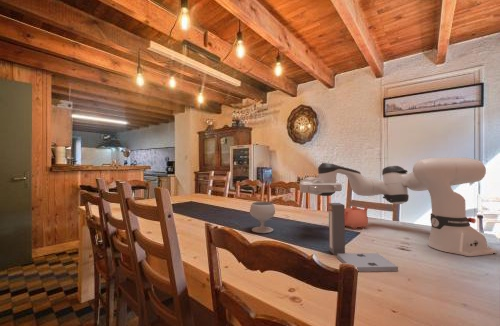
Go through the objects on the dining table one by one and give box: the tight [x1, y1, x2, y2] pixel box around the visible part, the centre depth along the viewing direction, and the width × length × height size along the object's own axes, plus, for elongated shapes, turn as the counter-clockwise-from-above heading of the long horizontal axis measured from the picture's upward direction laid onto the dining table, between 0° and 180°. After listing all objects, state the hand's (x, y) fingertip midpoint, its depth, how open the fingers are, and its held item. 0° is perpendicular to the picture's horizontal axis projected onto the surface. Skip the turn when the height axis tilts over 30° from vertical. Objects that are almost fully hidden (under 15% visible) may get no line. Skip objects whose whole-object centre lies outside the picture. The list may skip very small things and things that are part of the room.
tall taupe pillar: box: [328, 202, 346, 256], centre depth 94 cm, size 5×5×20 cm
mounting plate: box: [336, 252, 399, 273], centre depth 83 cm, size 16×12×2 cm
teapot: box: [345, 205, 370, 230], centre depth 133 cm, size 20×12×12 cm, turn 109°
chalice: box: [249, 201, 276, 234], centre depth 126 cm, size 14×14×15 cm
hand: (325, 188), depth 106 cm, fingers open, 8 cm apart
